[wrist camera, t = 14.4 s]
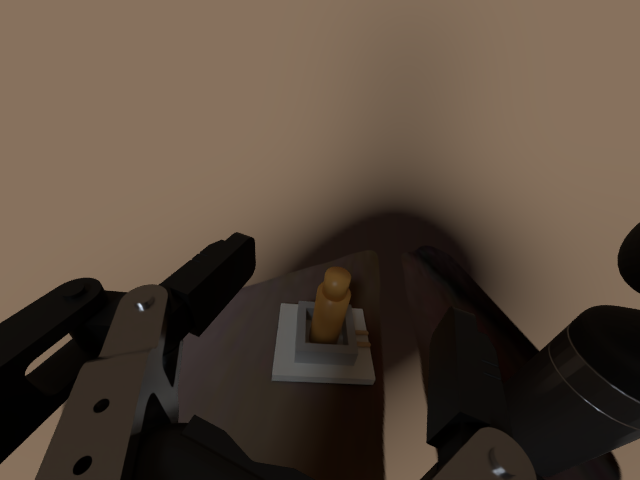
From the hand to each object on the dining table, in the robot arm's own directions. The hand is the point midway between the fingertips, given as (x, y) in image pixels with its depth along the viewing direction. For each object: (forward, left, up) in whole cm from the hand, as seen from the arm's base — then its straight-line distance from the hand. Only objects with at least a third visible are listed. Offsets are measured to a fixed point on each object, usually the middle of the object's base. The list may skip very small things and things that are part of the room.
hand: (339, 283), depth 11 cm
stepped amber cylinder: (-4, -16, -28) cm, 32 cm away
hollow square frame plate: (-4, -16, -29) cm, 34 cm away
